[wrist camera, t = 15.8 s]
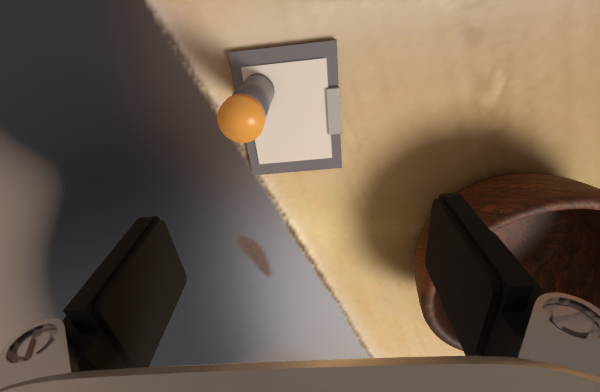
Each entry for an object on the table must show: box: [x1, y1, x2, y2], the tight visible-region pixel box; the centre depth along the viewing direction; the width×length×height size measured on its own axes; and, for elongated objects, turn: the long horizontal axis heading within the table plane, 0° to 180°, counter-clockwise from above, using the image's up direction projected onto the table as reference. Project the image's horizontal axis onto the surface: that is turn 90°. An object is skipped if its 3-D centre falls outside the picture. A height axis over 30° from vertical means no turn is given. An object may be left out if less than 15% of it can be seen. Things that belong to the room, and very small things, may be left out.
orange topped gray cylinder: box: [217, 73, 275, 143], centre depth 29 cm, size 4×4×11 cm
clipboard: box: [228, 40, 342, 175], centre depth 35 cm, size 11×14×1 cm
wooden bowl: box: [415, 173, 600, 351], centre depth 39 cm, size 25×25×10 cm
